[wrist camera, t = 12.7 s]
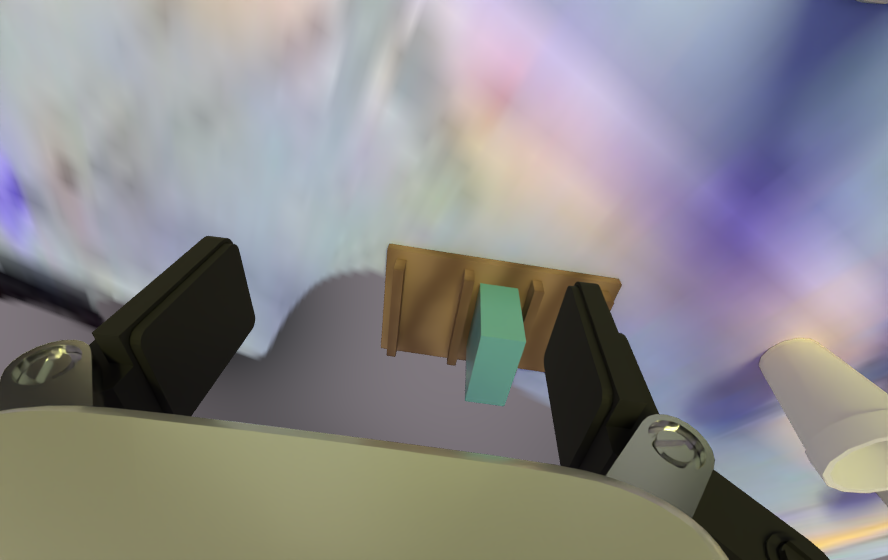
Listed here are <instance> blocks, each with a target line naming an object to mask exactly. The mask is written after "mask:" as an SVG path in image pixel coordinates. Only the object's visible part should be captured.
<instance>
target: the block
mask: <svg viewBox="0 0 888 560" xmlns="http://www.w3.org/2000/svg"><path fill="white" fill-rule="evenodd" d="M525 344H526V338H525V331H524V324H523V318H522V311H521V305H520V298H519V291H518V288H511V287H504V286H497V285H490V284H483V283H480V286H479V291H478V295H477V300H476V304H475V309H474V313H473V318H472V322H471V327H470V331H469V336H468V340H467V345H466V380H465V401H469V402H476V403H484V404H491V405H498V406H504V405H505V403H506V400H507V397H508V394H509V391H510V388H511V385H512V382H513V379H514V376H515V373H516V370H517V367H518V364H519V362H520V359H521V356H522V353H523V350H524V347H525Z"/></svg>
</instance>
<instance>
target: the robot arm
mask: <svg viewBox="0 0 888 560" xmlns="http://www.w3.org/2000/svg"><path fill="white" fill-rule="evenodd" d="M856 1H859V2H862V3H876V4H887V3H888V0H856ZM254 324H255V314H254V310H253V306H252V302H251V298H250V293H249V289H248V285H247V281H246V277H245V273H244V269H243V265H242V260H241V256H240V252H239V249H238V247H237V245H235V244H233V242H232V241H231V240H230V239H228V238H221V237H213V236H206V237H204V238H203V239H202V240H200V241H199V242H198V243H197V244H196V245H195V246H193V247H192V248H191V249H190V250H189V251H187V252H186V253H185V254H184V255H183V256H182V257H180V258H179V259H178V260H177V261H176V262H175V263H173V264H172V265H171V266H170V267H169V268H167V269H166V270H165V271H164V272H163V273H162V274H160V275H159V276H158V277H157V278H156V279H155V280H153V281H152V282H151V283H150V284H149V285H147V286H146V287H145V288H144V289H143V290H142V291H140V292H139V293H138V294H137V295H136V296H135V297H133V298H132V299H131V300H130V301H129V302H127V303H126V304H125V305H124V306H123V307H122V308H120V309H119V310H118V311H117V312H116V313H115V314H114V315H112V316H111V317H110V318H109V319H107V320H106V321H105V322H104V323H103V324H102V325H100V326H99V327H98V328H97V329H96V330H95V331H93V332H92V334H93V336H94V338H95V340H94V341H93V342H92V343H91V344H90V345H87V344H86V343H84V342H82V341H78V340H61V341H56V342H51V343H47V344H45V345H42V346H39V347H36V348H34V349H32V350H30V351H28V352H26V353H24V354H22V355H21V356H19V357H18V358H16V359H15V360H14V361H12V362H11V363H10V364H9V365H8V366H7V367H6V369H5V370H4V372H3V374H2V376H1V379H0V560H829V558H828V557H827V556H826V555H825V554H824V553H823V552H822V551H821V550H820V549H819V548H818V547H816V546H815V545H814V544H813V543H812V542H811V541H809V540H808V539H807V538H805V537H804V536H803V535H801V534H800V533H799V532H797V531H796V530H795V529H793V528H792V527H790V526H789V525H788V524H786V523H785V522H784V521H782V520H781V519H780V518H778V517H777V516H776V515H774V514H773V513H772V512H770V511H769V510H768V509H766V508H765V507H763V506H762V505H761V504H759V503H758V502H757V501H755V500H754V499H753V498H751V497H750V496H749V495H747V494H746V493H745V492H743V491H742V490H741V489H739V488H738V487H736V486H735V485H734V484H732V483H731V482H730V481H728V480H727V479H726V478H724V477H723V476H722V475H720V474H719V473H718V472H716V471H715V470H714V462H715V459H714V455H713V451H712V449H711V447H710V446H709V444H708V442H707V441H706V440H705V438H704V437H703V436H702V435H701V434H700V433H699V432H698V431H697V430H696V429H694V428H693V427H692V426H690V425H689V424H688V423H686V422H684V421H682V420H680V419H678V418H676V417H672V416H669V415H664V414H659V413H658V411H657V408H656V406H655V403H654V401H653V399H652V396H651V394H650V392H649V389H648V387H647V385H646V382H645V380H644V378H643V375H642V373H641V371H640V368H639V366H638V364H637V361H636V359H635V356H634V354H633V352H632V349H631V347H630V345H629V342H628V340H627V338H626V337H625V335H623V334H622V333H619V332H618V330H617V327H616V325H615V323H614V320H613V318H612V315H611V313H610V310H609V308H608V305H607V303H606V300H605V298H604V296H603V293H602V291H601V288H600V286H599V284H595V283H587V282H579V281H577V282H576V283H575V284H574V286H568V287H567V290H566V292H565V295H564V298H563V301H562V304H561V307H560V310H559V313H558V316H557V319H556V322H555V324H554V327H553V330H552V333H551V336H550V339H549V342H548V345H547V348H546V351H545V354H544V369H545V375H546V381H547V387H548V393H549V399H550V405H551V411H552V417H553V423H554V429H555V435H556V441H557V447H558V453H559V459H560V465H561V466H559V465H554V464H548V463H540V462H534V461H528V460H521V459H514V458H508V457H501V456H494V455H487V454H479V453H472V452H465V451H457V450H450V449H442V448H435V447H427V446H420V445H413V444H404V443H398V442H390V441H382V440H374V439H366V438H359V437H351V436H343V435H336V434H328V433H320V432H312V431H304V430H297V429H288V428H280V427H273V426H265V425H257V424H249V423H240V422H232V421H224V420H216V419H208V418H200V417H192V414H193V413H194V411H195V410H196V409H197V407H198V406H199V404H200V403H201V401H202V400H203V399H204V397H205V396H206V394H207V393H208V391H209V390H210V389H211V387H212V386H213V384H214V383H215V381H216V380H217V378H218V377H219V376H220V374H221V373H222V371H223V370H224V369H225V367H226V366H227V364H228V363H229V362H230V360H231V359H232V357H233V356H234V354H235V353H236V352H237V350H238V349H239V347H240V346H241V344H242V343H243V342H244V340H245V339H246V337H247V336H248V334H249V333H250V332H251V330H252V329H253V327H254Z"/></svg>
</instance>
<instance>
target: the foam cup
mask: <svg viewBox="0 0 888 560" xmlns="http://www.w3.org/2000/svg"><path fill="white" fill-rule="evenodd" d="M759 367H760V369H761V371H762V373H763V375H764V377H765V379H766V381H767V382H768V384H769V386H770V388H771V389H772V391H773V393H774V395H775V396H776V398H777V400H778V402H779V403H780V405H781V407H782V409H783V411H784V412H785V414H786V416H787V418H788V419H789V421H790V423H791V425H792V426H793V428H794V430H795V432H796V433H797V435H798V437H799V439H800V441H801V442H802V444H803V446H804V448H805V449H806V450H805V453H806V455H807V457H808V459H809V461H810V463H811V464H812V465H813V467H814V468H815V469H816V471H817V472H818V473H819V475H820V476H821V478H822V479H823V480H824V482H825V483H826V484H827V486H830V487H832V488H835V489H837V490H840V491H842V492H855V493H871V492H879V491H886V490H888V394H887V393H886V392H885V391H883V390H882V389H881V388H879V387H878V386H876V385H875V384H874V383H872V382H871V381H870V380H868V379H867V378H866V377H864V376H863V375H862V374H860V373H859V372H858V371H856V370H855V369H853V368H852V367H851V366H849V365H848V364H847V363H845V362H844V361H843V360H841V359H840V358H839V357H837V356H836V355H835V354H833V353H832V352H831V351H829V350H828V349H826V348H825V347H823V346H822V345H820V344H819V343H818V342H816V341H814V340H812V339H804V338H796V339H791V340H787V341H783V342H781V343H779V344H777V345H775V346H773V347H771V348H769V349H768V350H767V352H766V353H765V354H764V355H763V356H762V357H761V359H760V362H759Z"/></svg>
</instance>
